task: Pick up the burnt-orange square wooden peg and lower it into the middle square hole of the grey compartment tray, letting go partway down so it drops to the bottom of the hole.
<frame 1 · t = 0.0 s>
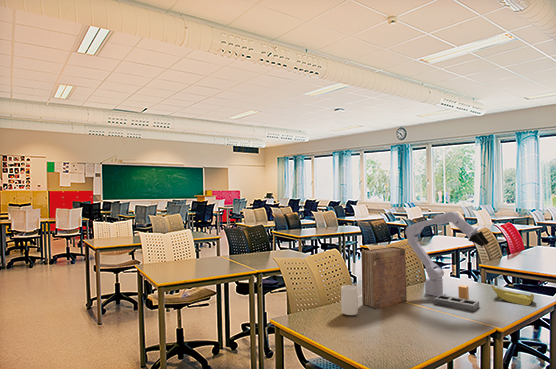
hand: (485, 244, 200), 32 cm above the table, tool tilted 50°, fingers open, 7 cm apart
banana: (512, 300, 205), on the table
grey compartment tray: (456, 305, 198), on the table
cup: (349, 315, 187), on the table
book: (384, 303, 205), on the table
peg: (463, 300, 206), on the table
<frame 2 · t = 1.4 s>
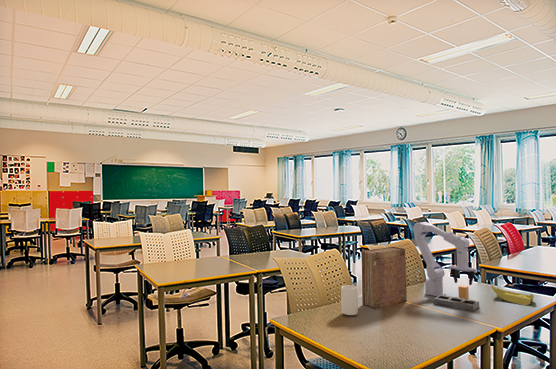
hand: (463, 283, 206), 9 cm above the table, tool pointing down, fingers open, 7 cm apart
nothing on the table moved.
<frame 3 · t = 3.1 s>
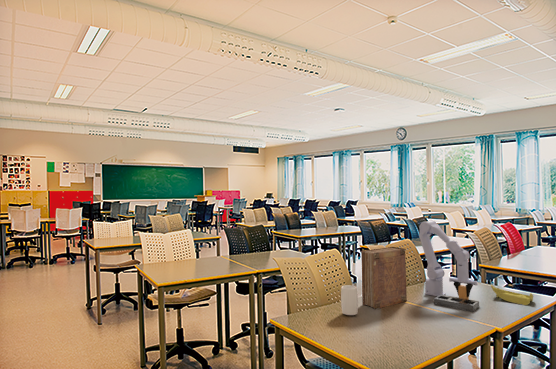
hand: (463, 296, 206), 2 cm above the table, tool pointing down, fingers closed on peg, 4 cm apart
peg: (463, 300, 206), on the table, touching gripper
everything else where it was.
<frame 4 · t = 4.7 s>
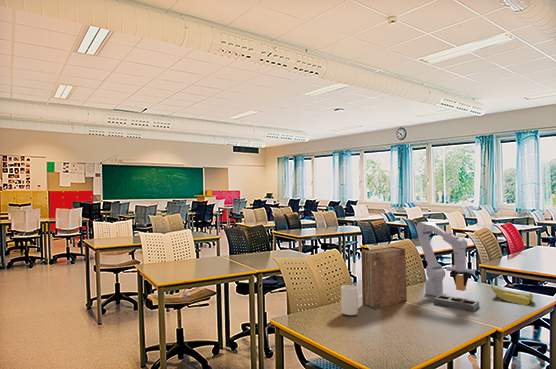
hand: (460, 285, 203), 9 cm above the table, tool pointing down, fingers closed on peg, 4 cm apart
peg: (461, 289, 203), point 7 cm above the table, touching gripper
everything else where it was.
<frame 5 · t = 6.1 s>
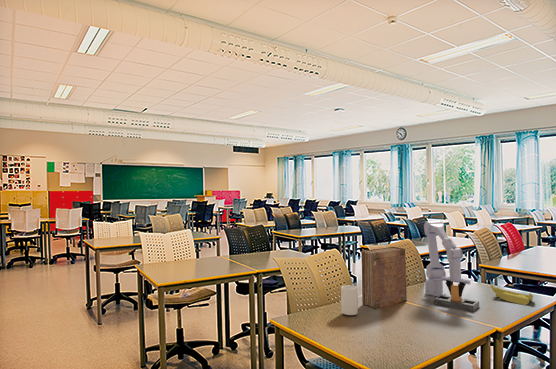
hand: (456, 295, 198), 5 cm above the table, tool pointing down, fingers closed on peg, 4 cm apart
peg: (456, 300, 198), point 3 cm above the table, touching gripper
everything else where it was.
when the fingers open (4 cm above the table, at t = 7.6 s): peg drops 1 cm, resting in grey compartment tray.
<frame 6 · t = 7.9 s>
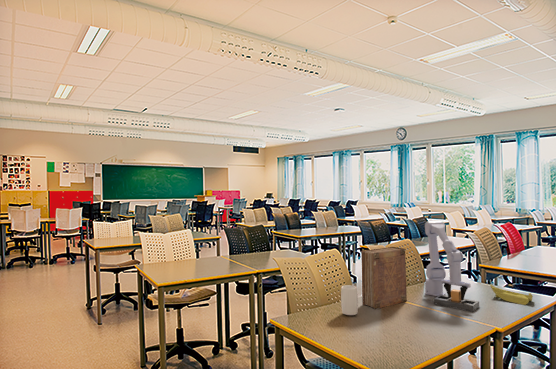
hand: (456, 298, 198), 4 cm above the table, tool pointing down, fingers open, 6 cm apart
peg: (456, 305, 198), resting in grey compartment tray
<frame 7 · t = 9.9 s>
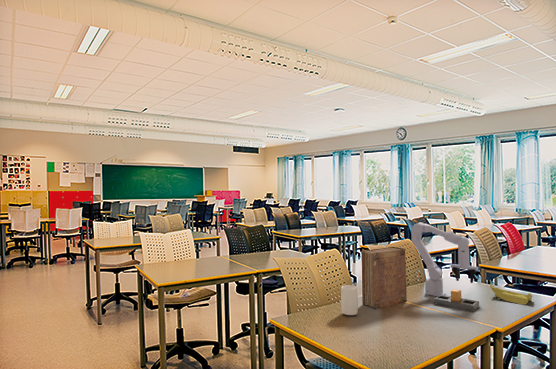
hand: (464, 281, 211), 9 cm above the table, tool pointing down, fingers open, 7 cm apart
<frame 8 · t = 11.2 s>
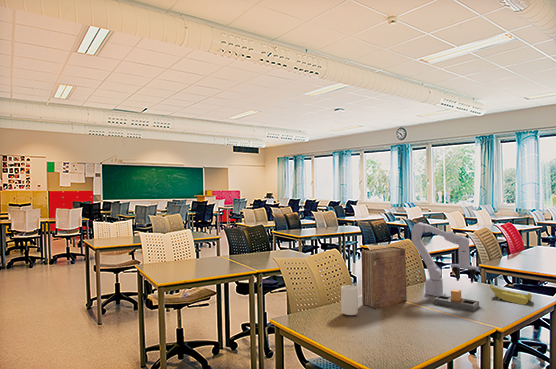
hand: (464, 281, 211), 9 cm above the table, tool pointing down, fingers open, 7 cm apart
at the end: peg 0.3 cm off-centre on the grey compartment tray, point 0.0 cm above the grey compartment tray's base; peg tilted 0°; the gripper is holding nothing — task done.
